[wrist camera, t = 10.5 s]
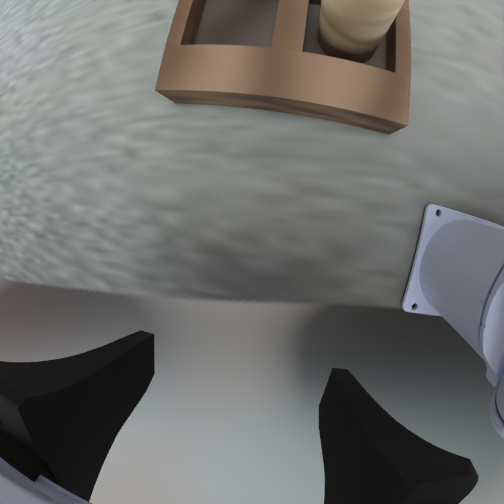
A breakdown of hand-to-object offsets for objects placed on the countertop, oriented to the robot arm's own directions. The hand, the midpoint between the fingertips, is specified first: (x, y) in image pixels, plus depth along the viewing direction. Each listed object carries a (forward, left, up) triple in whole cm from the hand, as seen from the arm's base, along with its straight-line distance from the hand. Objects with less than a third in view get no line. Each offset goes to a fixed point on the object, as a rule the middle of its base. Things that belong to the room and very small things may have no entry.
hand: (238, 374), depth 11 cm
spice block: (+1, -18, -10) cm, 21 cm away
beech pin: (-3, -18, -9) cm, 20 cm away
